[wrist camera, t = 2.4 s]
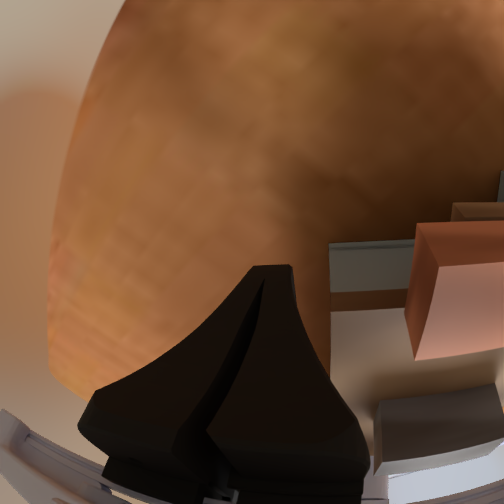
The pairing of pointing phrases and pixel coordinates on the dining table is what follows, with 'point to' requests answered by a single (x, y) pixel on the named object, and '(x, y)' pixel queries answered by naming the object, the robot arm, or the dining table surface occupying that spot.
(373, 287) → the blue grey tray
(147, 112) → the dining table surface
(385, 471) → the lid
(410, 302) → the salmon pink block
